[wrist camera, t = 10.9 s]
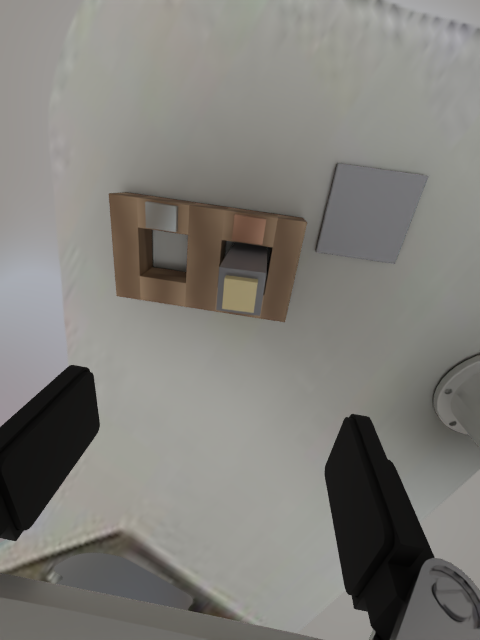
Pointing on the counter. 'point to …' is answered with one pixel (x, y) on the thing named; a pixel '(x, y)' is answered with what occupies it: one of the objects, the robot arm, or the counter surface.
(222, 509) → the counter surface
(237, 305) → the plug
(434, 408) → the robot arm
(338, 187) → the mat
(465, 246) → the counter surface
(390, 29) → the counter surface
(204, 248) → the socket board
